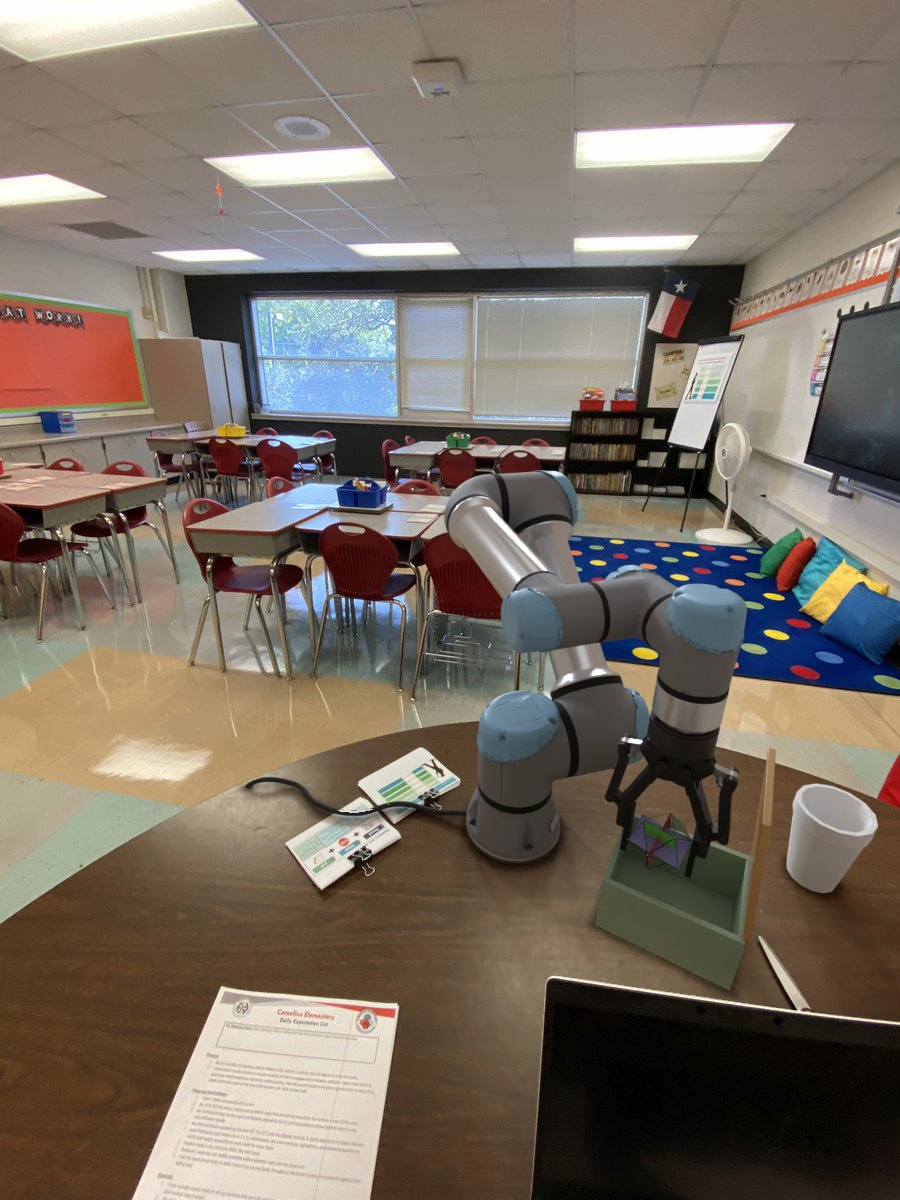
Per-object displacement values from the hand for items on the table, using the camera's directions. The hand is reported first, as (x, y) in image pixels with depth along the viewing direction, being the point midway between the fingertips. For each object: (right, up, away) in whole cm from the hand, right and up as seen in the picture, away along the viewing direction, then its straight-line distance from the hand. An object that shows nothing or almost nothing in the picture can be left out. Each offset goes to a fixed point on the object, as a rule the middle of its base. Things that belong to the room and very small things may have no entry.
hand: (656, 855), depth 72 cm
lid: (+9, +6, -8) cm, 13 cm away
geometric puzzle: (0, 0, 0) cm, 1 cm away
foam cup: (+26, -7, +8) cm, 28 cm away
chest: (+3, -9, +2) cm, 10 cm away
